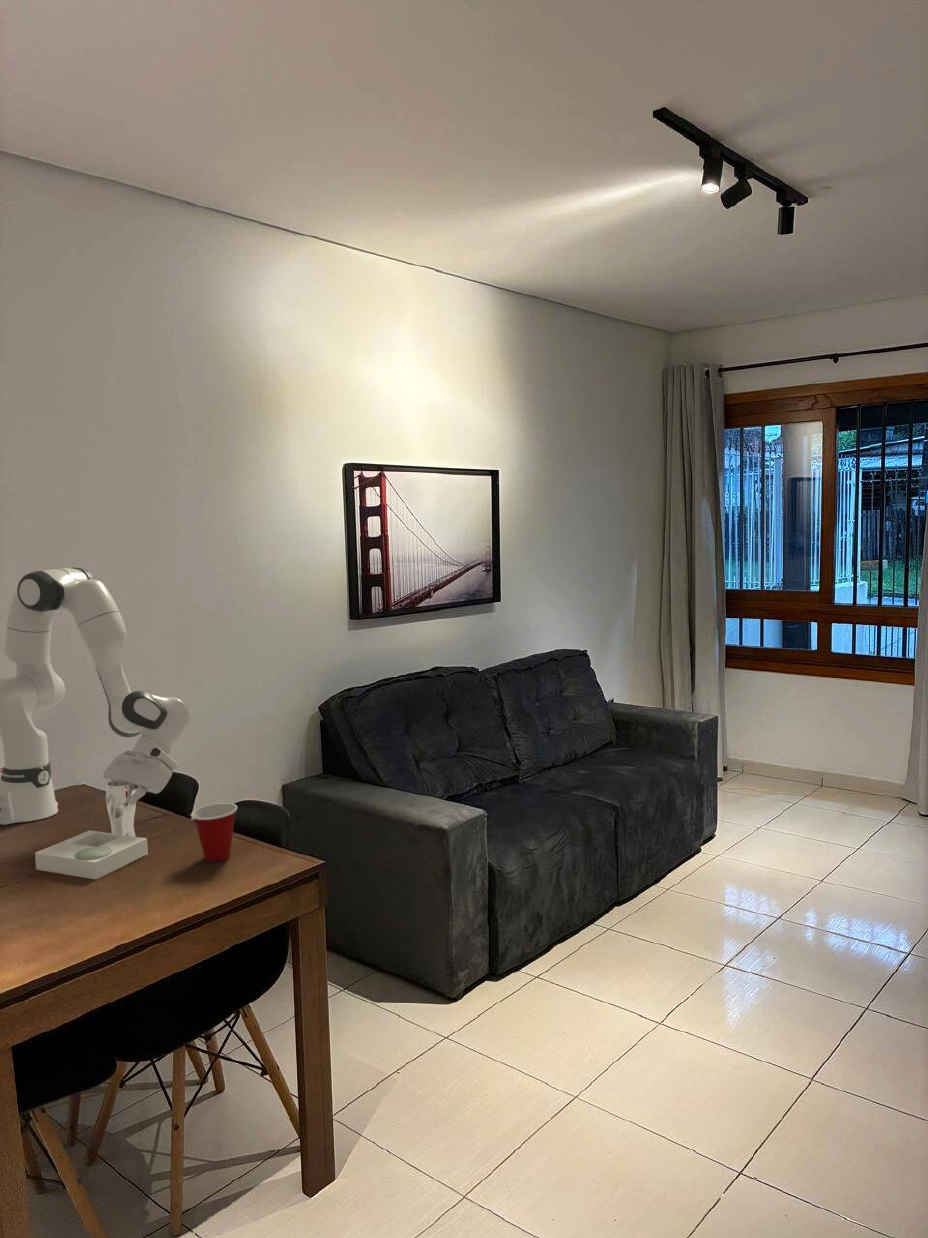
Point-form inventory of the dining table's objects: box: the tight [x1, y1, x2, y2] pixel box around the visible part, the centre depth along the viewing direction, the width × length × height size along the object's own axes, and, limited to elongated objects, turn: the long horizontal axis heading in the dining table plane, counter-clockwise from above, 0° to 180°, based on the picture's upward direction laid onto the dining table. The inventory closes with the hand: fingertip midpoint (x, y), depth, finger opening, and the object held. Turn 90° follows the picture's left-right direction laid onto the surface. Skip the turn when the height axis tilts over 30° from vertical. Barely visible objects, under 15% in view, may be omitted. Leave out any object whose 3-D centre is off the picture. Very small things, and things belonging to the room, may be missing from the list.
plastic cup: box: [190, 802, 238, 863], centre depth 222 cm, size 11×11×12 cm
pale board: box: [34, 829, 149, 880], centre depth 221 cm, size 18×17×4 cm
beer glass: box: [105, 780, 137, 837], centre depth 235 cm, size 7×7×15 cm
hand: (119, 801), depth 234 cm, fingers closed on beer glass, 7 cm apart
